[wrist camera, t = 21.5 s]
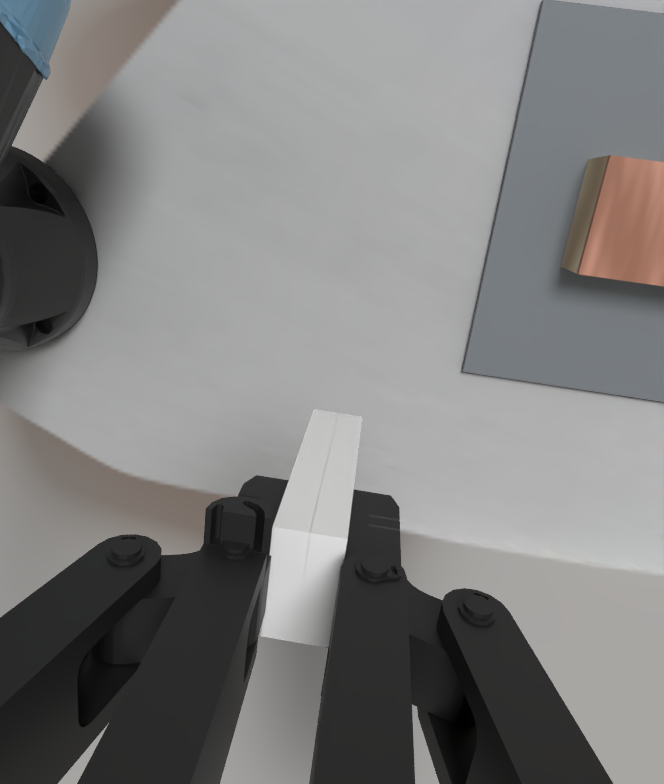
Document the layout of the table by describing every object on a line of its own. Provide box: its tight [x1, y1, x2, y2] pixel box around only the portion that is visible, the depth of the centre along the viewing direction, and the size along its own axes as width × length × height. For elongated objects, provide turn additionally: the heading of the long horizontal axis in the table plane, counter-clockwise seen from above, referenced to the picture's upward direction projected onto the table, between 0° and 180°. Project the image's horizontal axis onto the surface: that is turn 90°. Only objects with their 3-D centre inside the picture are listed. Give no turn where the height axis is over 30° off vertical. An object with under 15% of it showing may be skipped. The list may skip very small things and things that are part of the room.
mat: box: [462, 0, 664, 402], centre depth 39 cm, size 18×24×1 cm
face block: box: [561, 155, 664, 286], centre depth 37 cm, size 4×7×10 cm
